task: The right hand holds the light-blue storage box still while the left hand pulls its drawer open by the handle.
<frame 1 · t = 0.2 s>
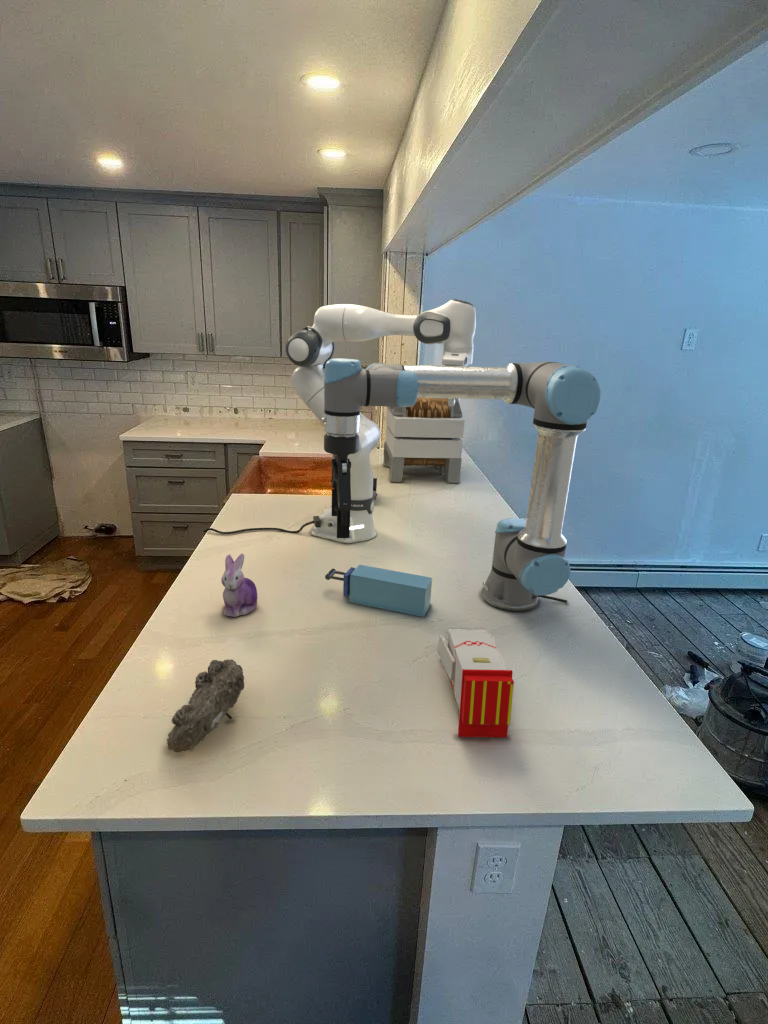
left hand: (453, 403, 174), 48 cm above the counter, tool pointing down, fingers open, 8 cm apart
right hand: (340, 526, 128), 28 cm above the counter, tool pointing down, fingers open, 13 cm apart
toy: (469, 691, 119), on the counter
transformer: (419, 473, 275), on the counter
drawer: (371, 586, 153), point 4 cm above the counter, slide at 0.9 cm
fossil: (212, 717, 108), on the counter
light-blue storage box: (389, 603, 153), on the counter
figurine: (240, 609, 146), on the counter
figurine character: (368, 499, 234), on the counter
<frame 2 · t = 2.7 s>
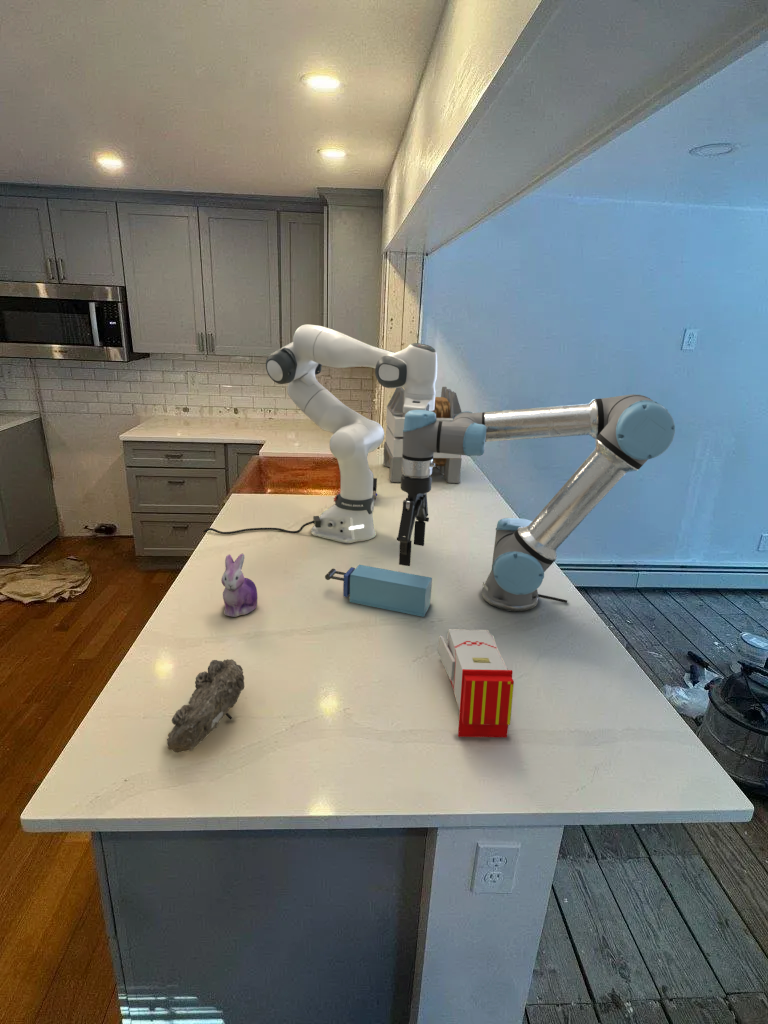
left hand: (416, 450, 166), 36 cm above the counter, tool pointing down, fingers open, 8 cm apart
right hand: (411, 554, 145), 16 cm above the counter, tool pointing down, fingers open, 13 cm apart
nothing on the counter moved.
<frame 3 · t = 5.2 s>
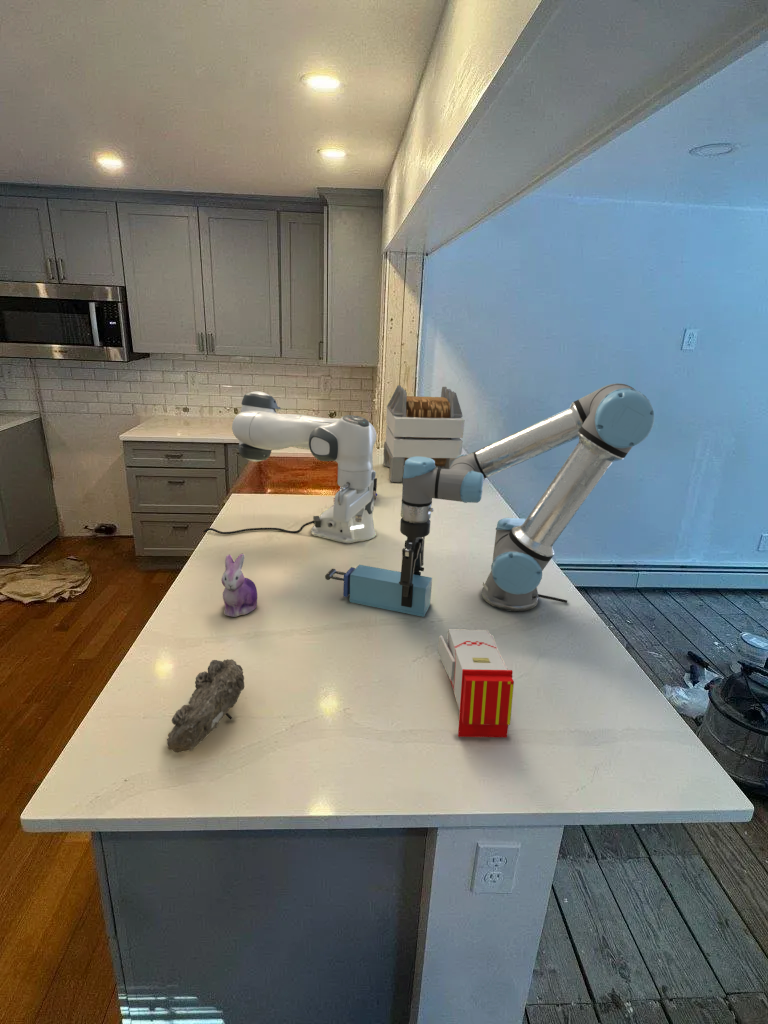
left hand: (352, 526, 154), 18 cm above the counter, tool pointing down, fingers open, 8 cm apart
right hand: (410, 599, 150), 2 cm above the counter, tool pointing down, fingers closed on light-blue storage box, 7 cm apart
light-blue storage box: (389, 603, 153), on the counter, touching right hand
everything else where it was.
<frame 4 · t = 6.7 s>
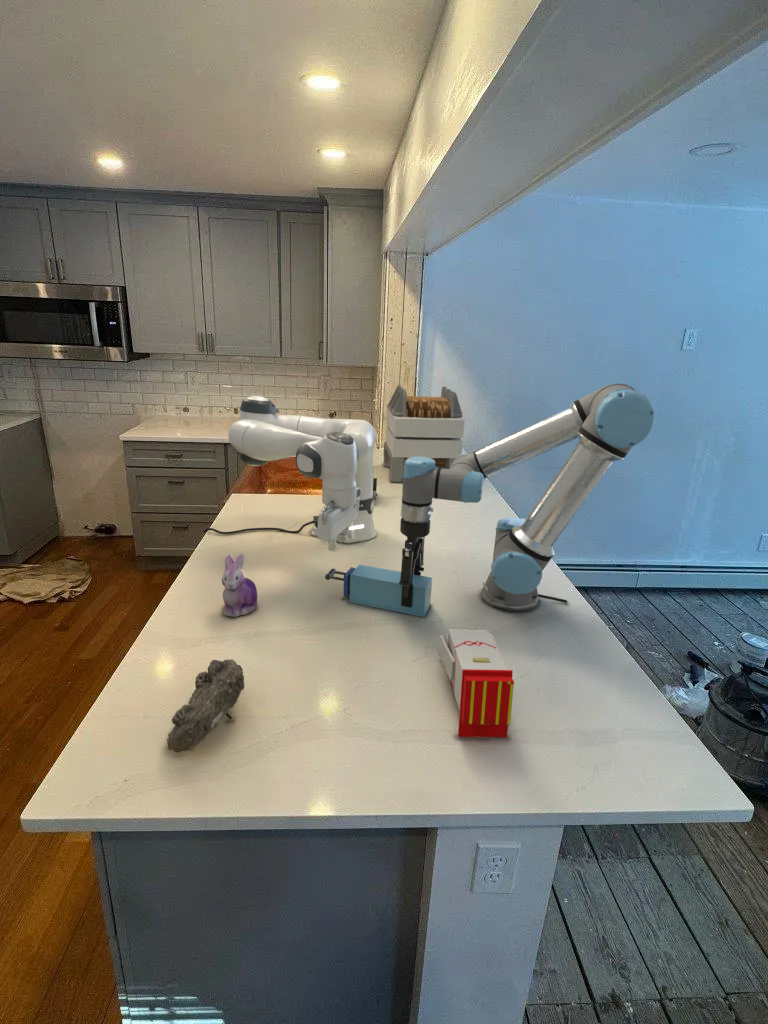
left hand: (338, 545, 152), 14 cm above the counter, tool pointing down, fingers open, 6 cm apart
right hand: (410, 599, 150), 2 cm above the counter, tool pointing down, fingers closed on light-blue storage box, 7 cm apart
light-blue storage box: (389, 603, 153), on the counter, touching right hand
everything else where it was.
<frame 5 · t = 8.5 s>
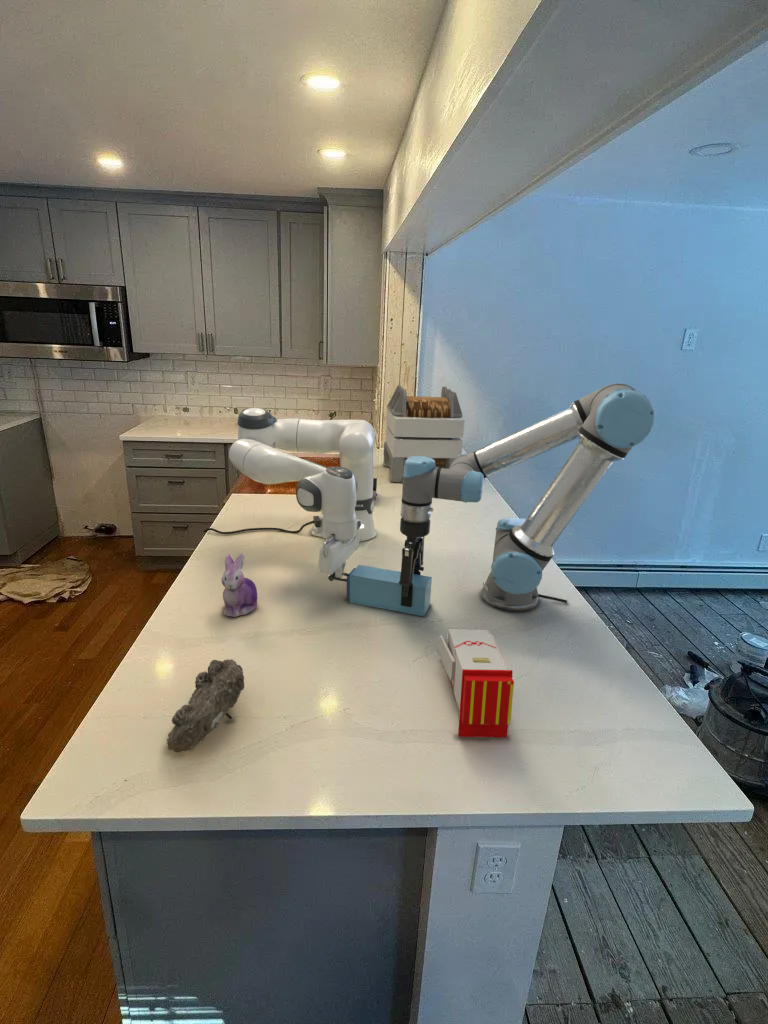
left hand: (339, 576, 154), 5 cm above the counter, tool pointing down, fingers closed, pressing on drawer
right hand: (410, 599, 150), 3 cm above the counter, tool pointing down, fingers closed on light-blue storage box, 7 cm apart
drawer: (374, 586, 152), point 4 cm above the counter, slide at -0.1 cm, touching left hand
light-blue storage box: (389, 603, 153), on the counter, touching right hand
everything else where it was.
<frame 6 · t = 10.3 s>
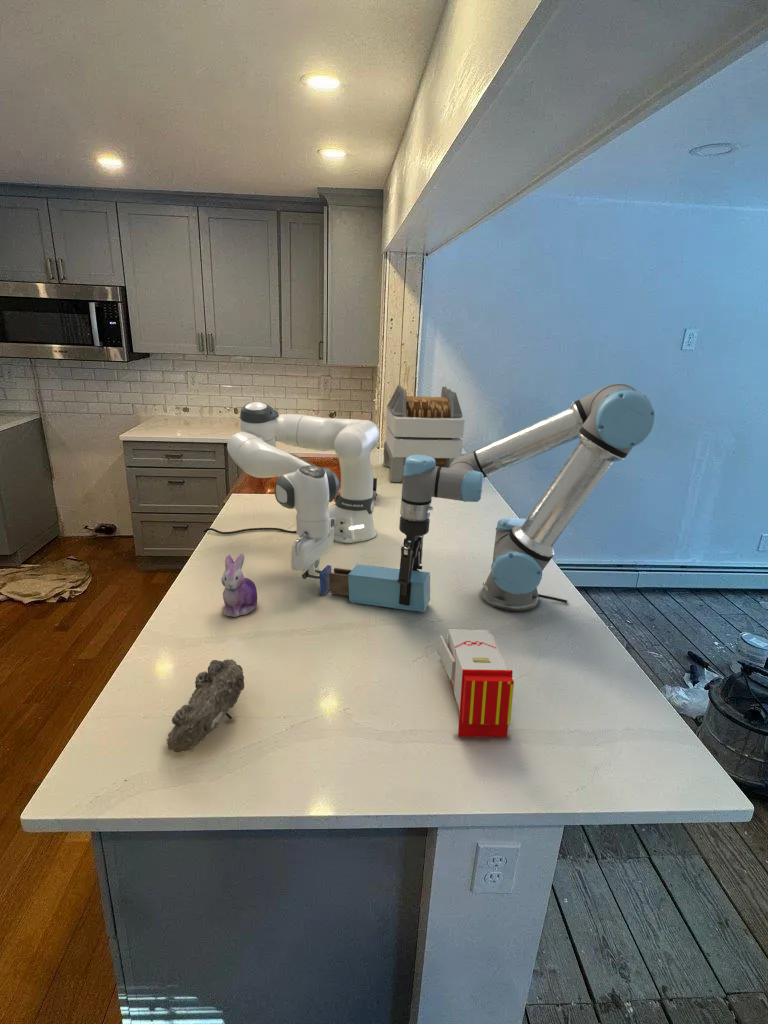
left hand: (313, 573, 157), 5 cm above the counter, tool pointing down, fingers closed
right hand: (408, 597, 150), 3 cm above the counter, tool pointing down, fingers closed on light-blue storage box, 7 cm apart
drawer: (347, 582, 155), point 4 cm above the counter, slide at 7.5 cm, touching left hand
light-blue storage box: (389, 601, 152), point 1 cm above the counter, touching right hand
everything else where it was.
when the right hand's fingers open (3 cm above the counter, at t = 11.9 s): light-blue storage box stays where it is, on the counter.
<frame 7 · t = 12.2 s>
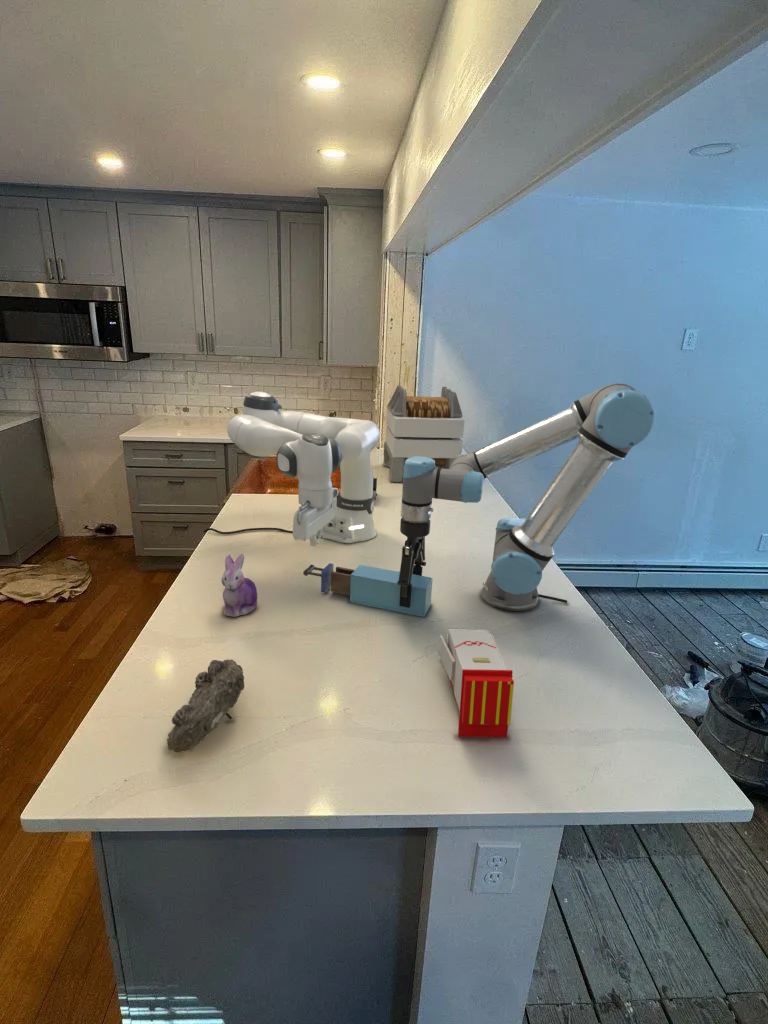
left hand: (315, 544, 154), 13 cm above the counter, tool pointing down, fingers closed
right hand: (410, 596, 150), 3 cm above the counter, tool pointing down, fingers open, 10 cm apart
drawer: (348, 581, 155), point 4 cm above the counter, slide at 7.6 cm
light-blue storage box: (390, 603, 153), on the counter
everything else where it was.
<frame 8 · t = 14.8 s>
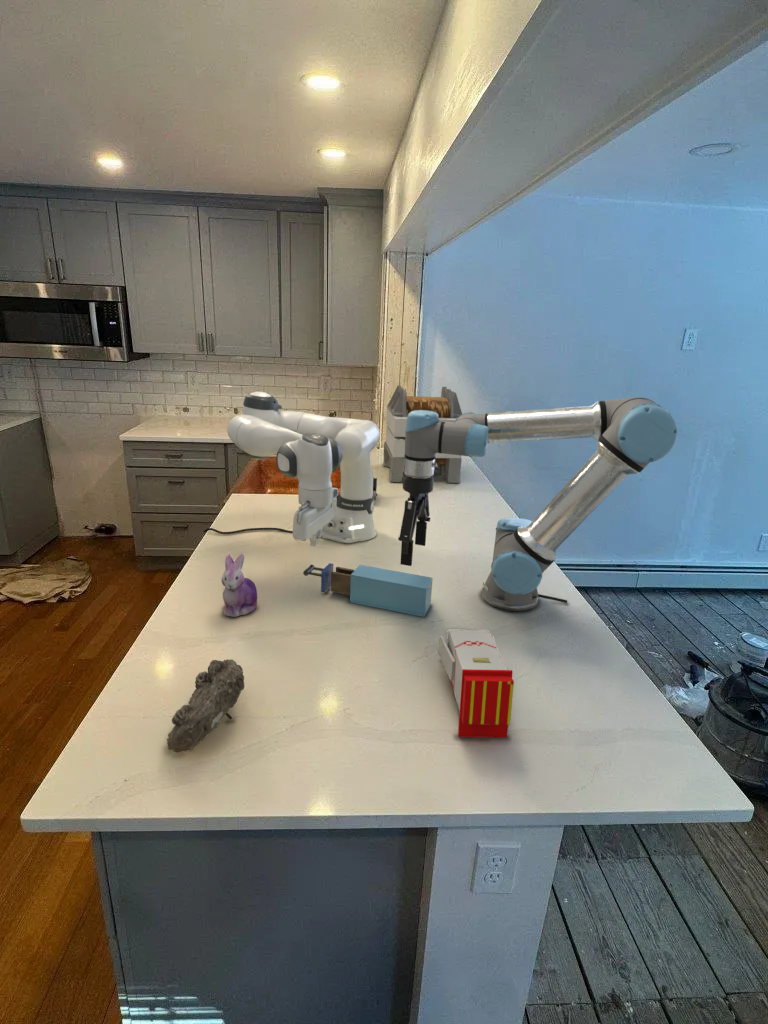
left hand: (315, 544, 154), 13 cm above the counter, tool pointing down, fingers closed
right hand: (413, 554, 146), 15 cm above the counter, tool pointing down, fingers open, 13 cm apart
nothing on the counter moved.
at the end: drawer slide at 7.6 cm; light-blue storage box tilted 0°; light-blue storage box never tilted more than 5° during the clip; light-blue storage box moved 0.1 cm from its start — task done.
